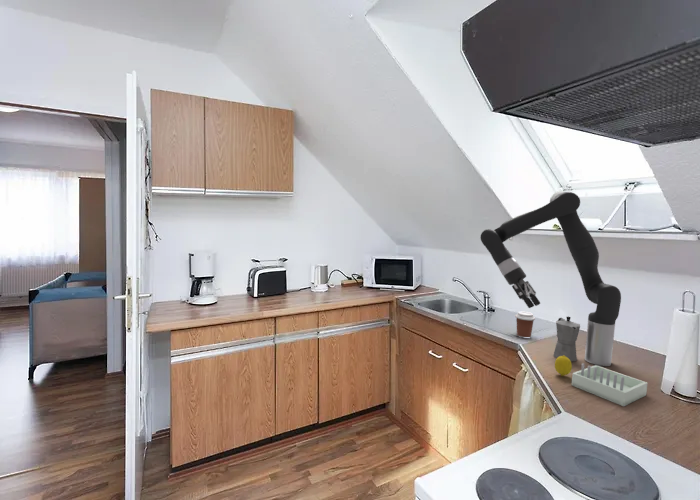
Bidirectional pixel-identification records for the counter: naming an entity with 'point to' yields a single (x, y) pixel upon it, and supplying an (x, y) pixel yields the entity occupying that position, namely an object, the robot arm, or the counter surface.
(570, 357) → the coffeepot
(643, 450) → the counter surface
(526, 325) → the coffee cup
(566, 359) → the lemon
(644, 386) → the dish rack
